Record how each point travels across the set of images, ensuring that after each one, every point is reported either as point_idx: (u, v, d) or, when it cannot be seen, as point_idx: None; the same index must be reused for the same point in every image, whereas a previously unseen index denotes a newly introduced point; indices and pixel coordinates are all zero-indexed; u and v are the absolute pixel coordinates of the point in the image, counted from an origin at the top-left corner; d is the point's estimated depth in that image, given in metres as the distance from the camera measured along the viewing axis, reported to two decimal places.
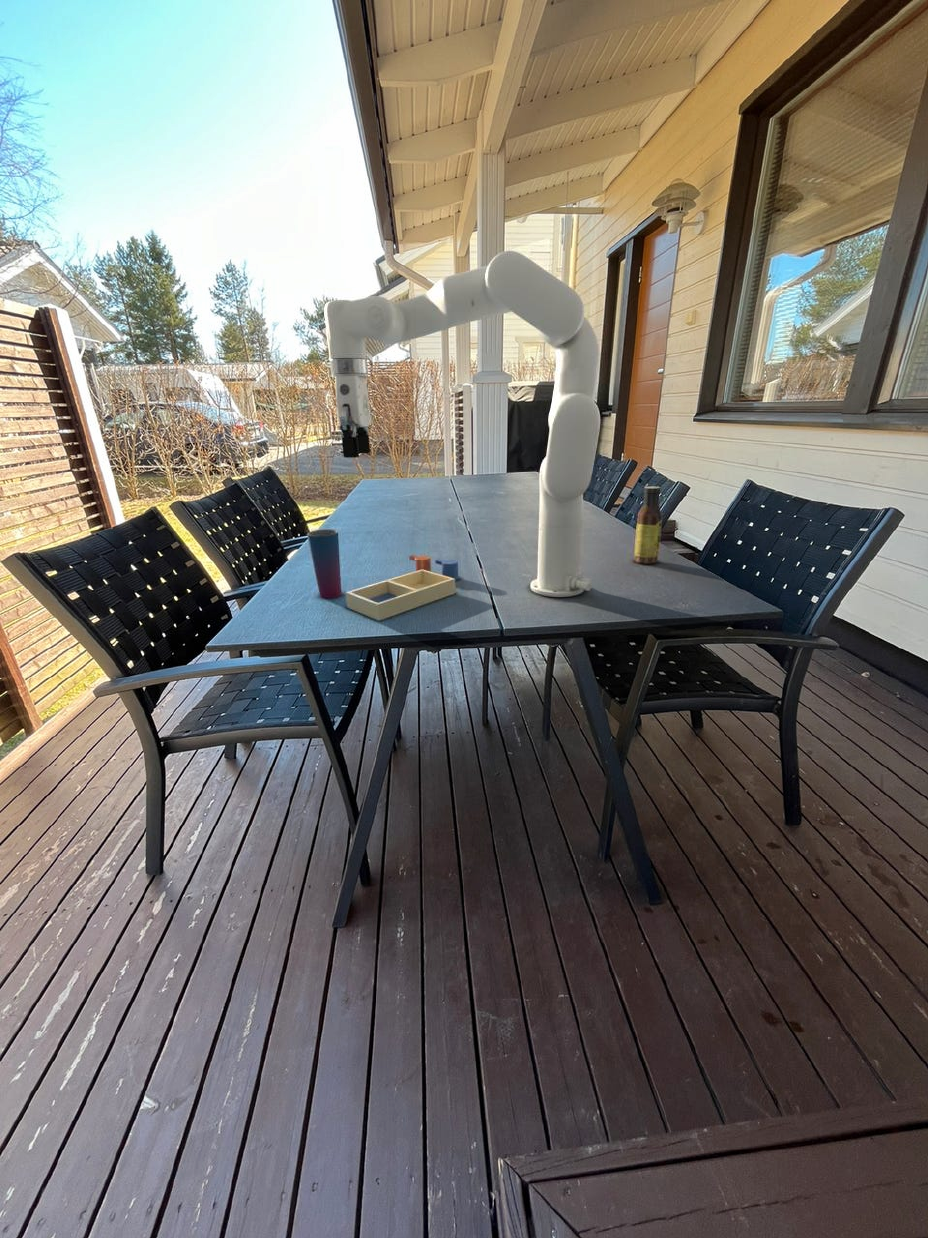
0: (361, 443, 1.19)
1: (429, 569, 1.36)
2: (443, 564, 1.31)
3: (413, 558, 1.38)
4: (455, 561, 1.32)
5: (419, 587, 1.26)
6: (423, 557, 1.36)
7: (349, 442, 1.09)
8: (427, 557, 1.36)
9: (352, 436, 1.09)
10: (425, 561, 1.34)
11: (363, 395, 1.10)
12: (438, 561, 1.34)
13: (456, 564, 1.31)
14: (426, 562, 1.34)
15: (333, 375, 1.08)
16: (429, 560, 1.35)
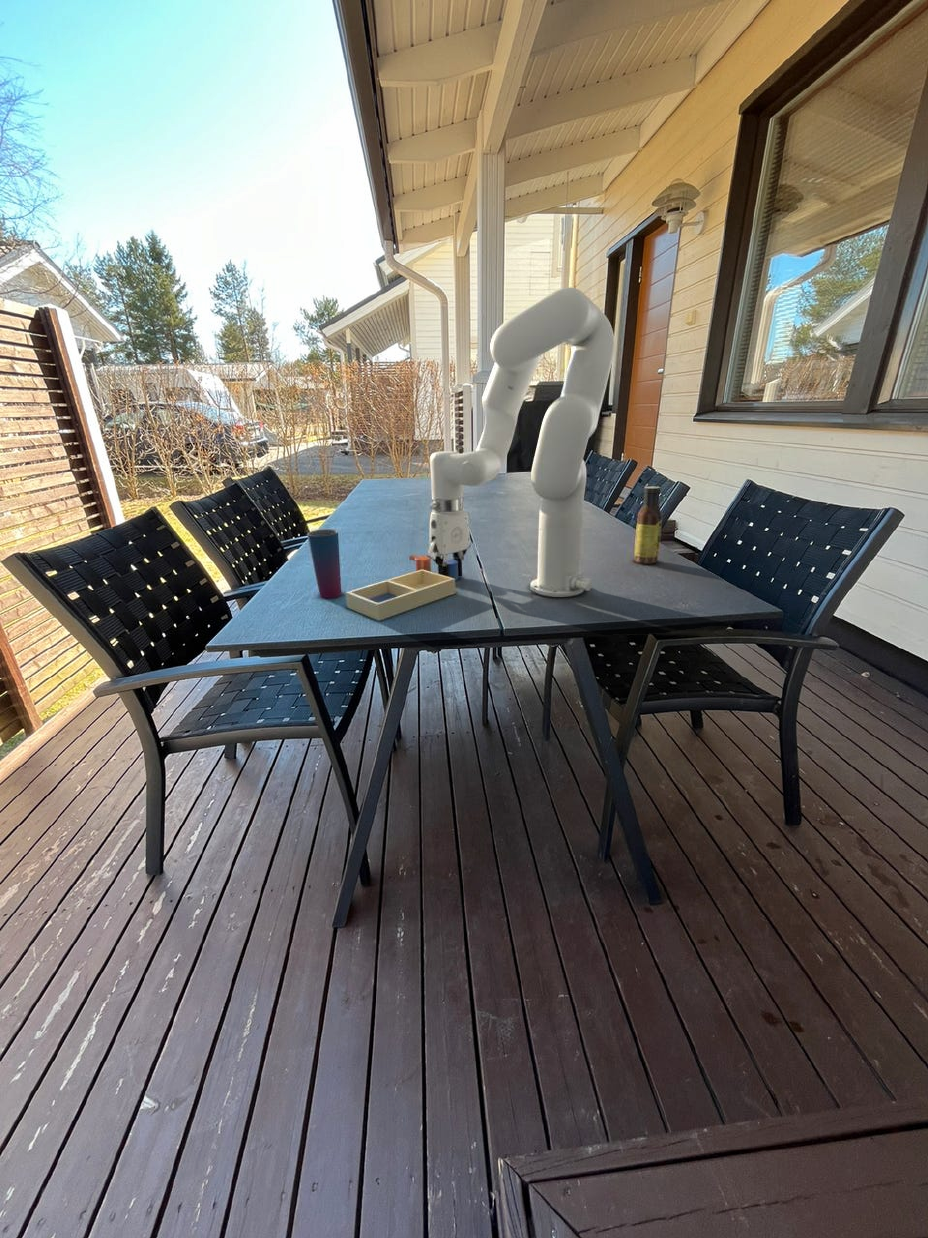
0: None
1: (429, 569, 1.36)
2: None
3: (413, 558, 1.38)
4: (455, 561, 1.32)
5: (419, 587, 1.26)
6: (423, 557, 1.36)
7: (440, 569, 1.30)
8: (427, 557, 1.36)
9: (442, 565, 1.29)
10: (425, 561, 1.34)
11: (453, 528, 1.26)
12: None
13: (456, 564, 1.31)
14: (426, 562, 1.34)
15: None
16: (429, 560, 1.35)
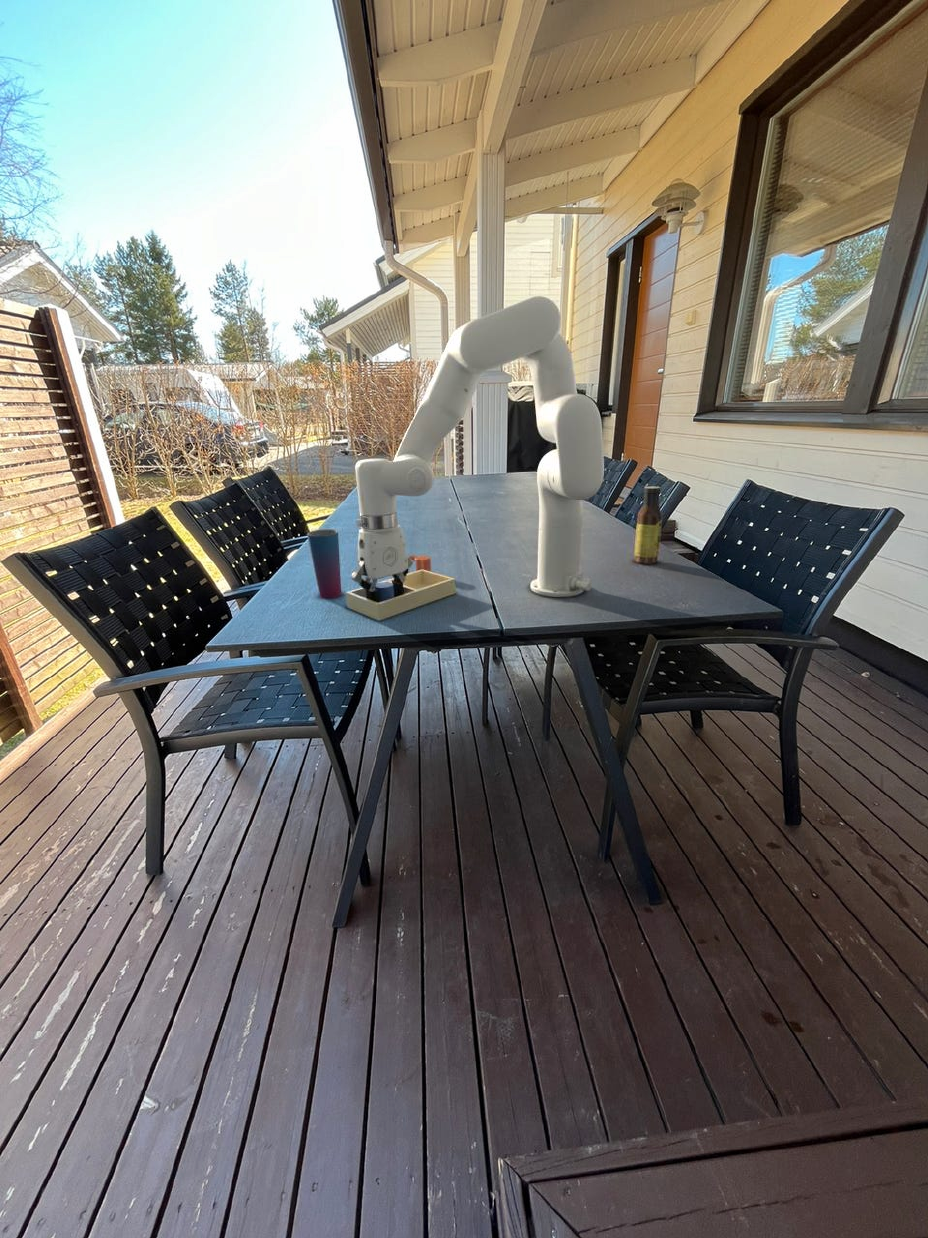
0: (396, 590, 1.16)
1: (429, 569, 1.36)
2: (375, 588, 1.13)
3: (413, 558, 1.38)
4: (390, 584, 1.14)
5: (419, 587, 1.26)
6: (423, 557, 1.36)
7: (369, 595, 1.11)
8: (427, 557, 1.36)
9: (370, 591, 1.10)
10: (425, 561, 1.34)
11: (385, 548, 1.08)
12: None
13: (391, 588, 1.13)
14: (426, 562, 1.34)
15: None
16: (429, 560, 1.35)
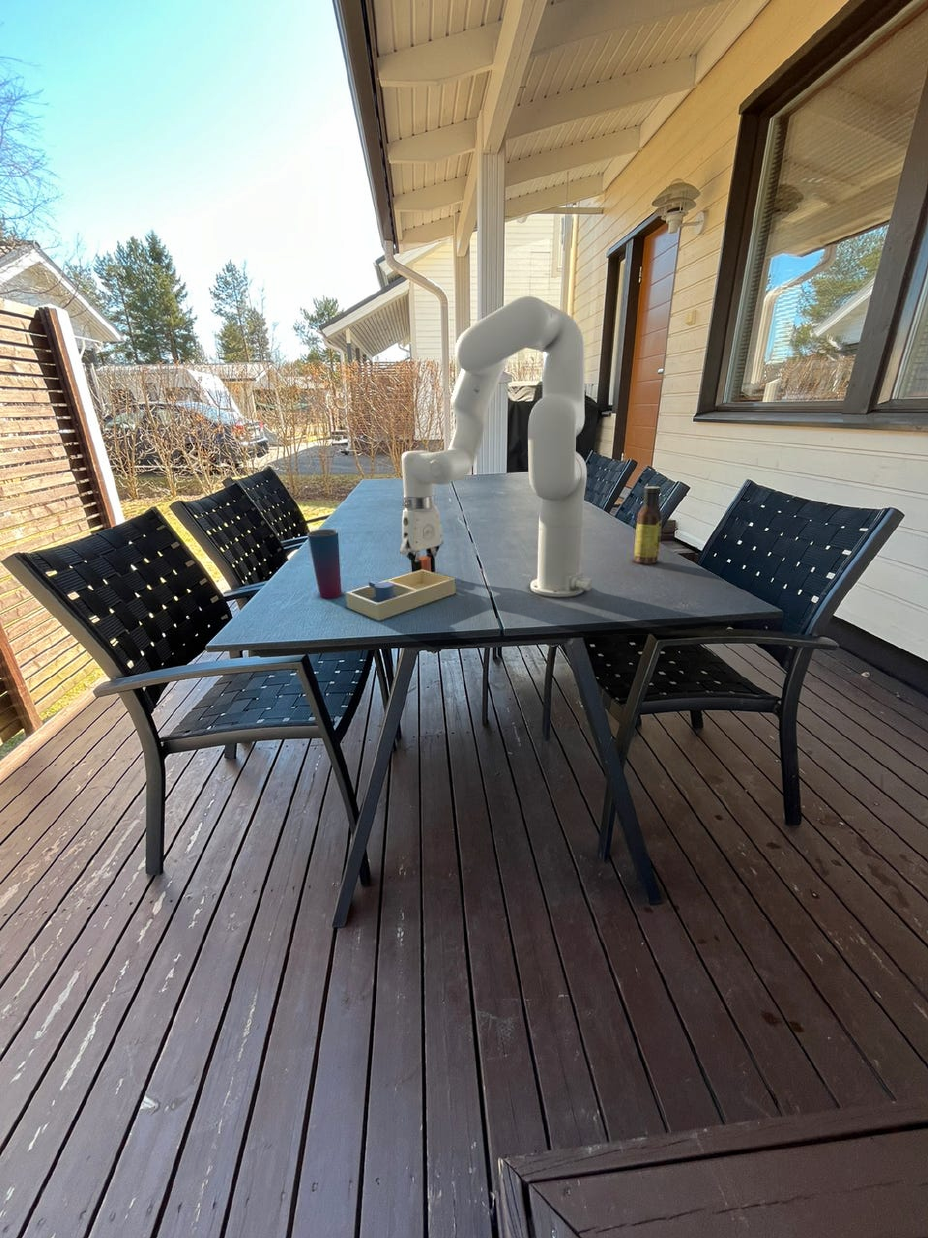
0: None
1: (429, 569, 1.36)
2: (375, 588, 1.13)
3: None
4: (390, 584, 1.14)
5: (419, 587, 1.26)
6: (423, 557, 1.36)
7: (413, 565, 1.34)
8: (427, 557, 1.36)
9: (415, 561, 1.33)
10: (425, 561, 1.34)
11: (425, 525, 1.30)
12: (371, 584, 1.16)
13: (391, 588, 1.13)
14: (426, 562, 1.34)
15: None
16: (429, 560, 1.35)
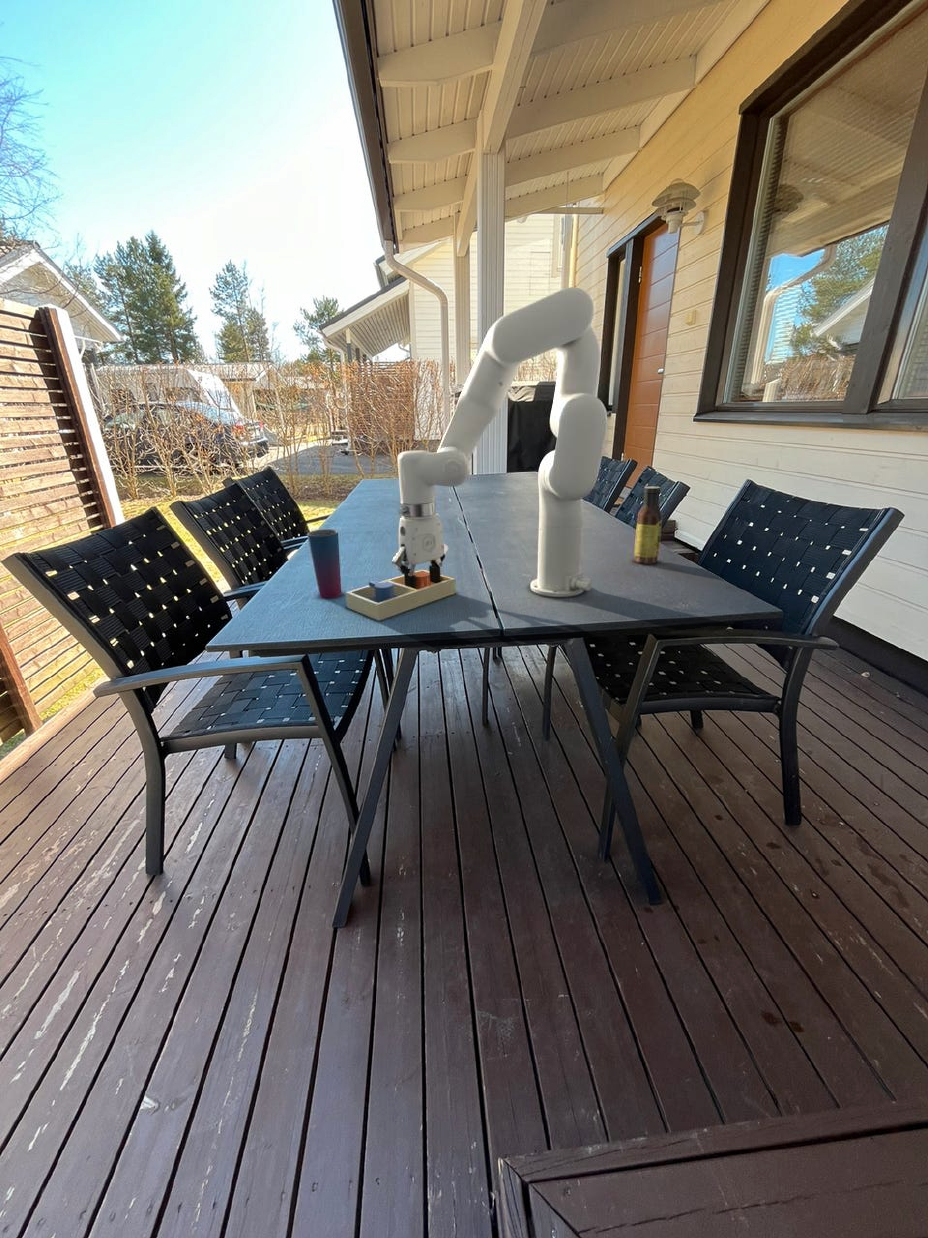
0: (433, 574, 1.23)
1: None
2: (375, 588, 1.13)
3: None
4: (390, 584, 1.14)
5: None
6: (421, 574, 1.21)
7: (407, 579, 1.17)
8: (426, 573, 1.21)
9: (408, 575, 1.16)
10: (423, 578, 1.19)
11: (424, 535, 1.14)
12: (371, 584, 1.16)
13: (391, 588, 1.13)
14: (424, 579, 1.19)
15: None
16: (428, 577, 1.20)
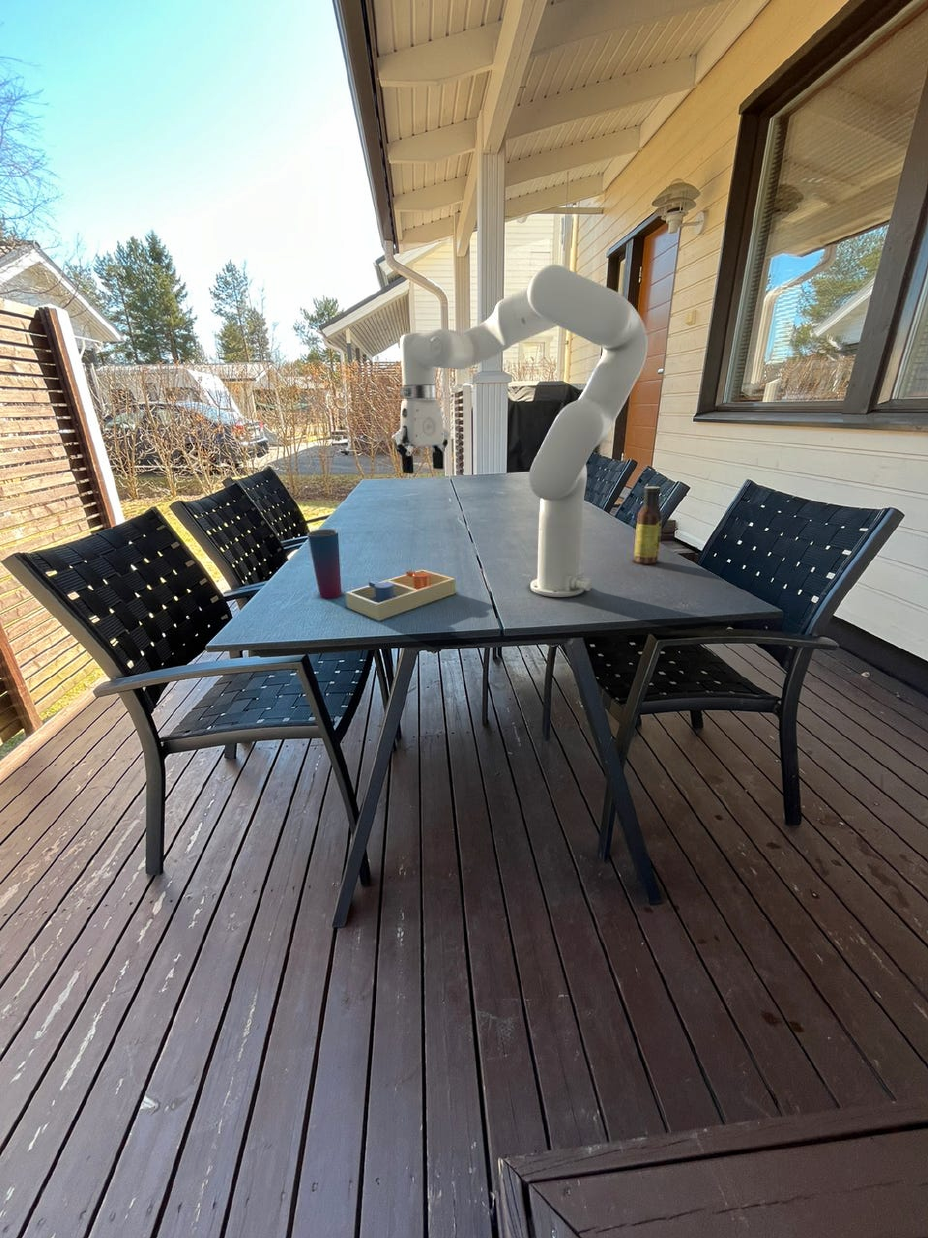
0: (436, 460, 1.29)
1: None
2: (375, 588, 1.13)
3: (410, 574, 1.23)
4: (390, 584, 1.14)
5: None
6: (421, 574, 1.21)
7: (404, 459, 1.22)
8: (426, 573, 1.21)
9: (405, 454, 1.21)
10: (423, 578, 1.19)
11: (425, 417, 1.20)
12: (371, 584, 1.16)
13: (391, 588, 1.13)
14: (424, 579, 1.19)
15: None
16: (428, 577, 1.20)
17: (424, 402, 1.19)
